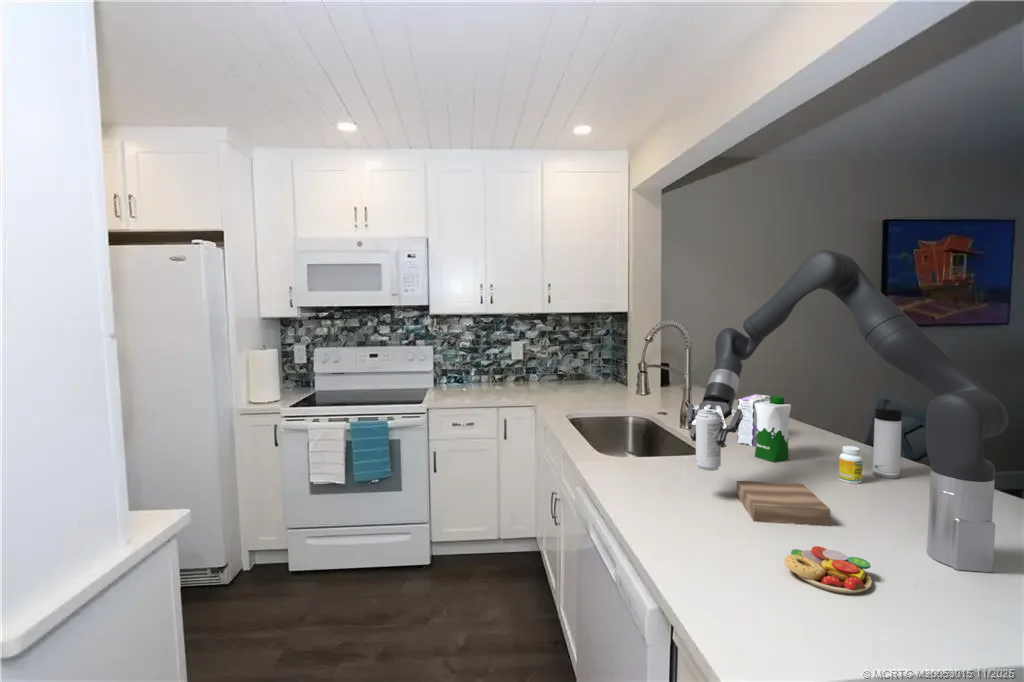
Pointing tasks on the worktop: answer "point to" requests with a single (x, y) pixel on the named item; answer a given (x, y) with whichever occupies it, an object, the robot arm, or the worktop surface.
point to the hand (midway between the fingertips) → (705, 441)
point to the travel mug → (887, 443)
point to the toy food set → (830, 570)
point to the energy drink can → (708, 439)
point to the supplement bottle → (850, 465)
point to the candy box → (749, 419)
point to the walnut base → (782, 503)
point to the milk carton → (772, 429)
